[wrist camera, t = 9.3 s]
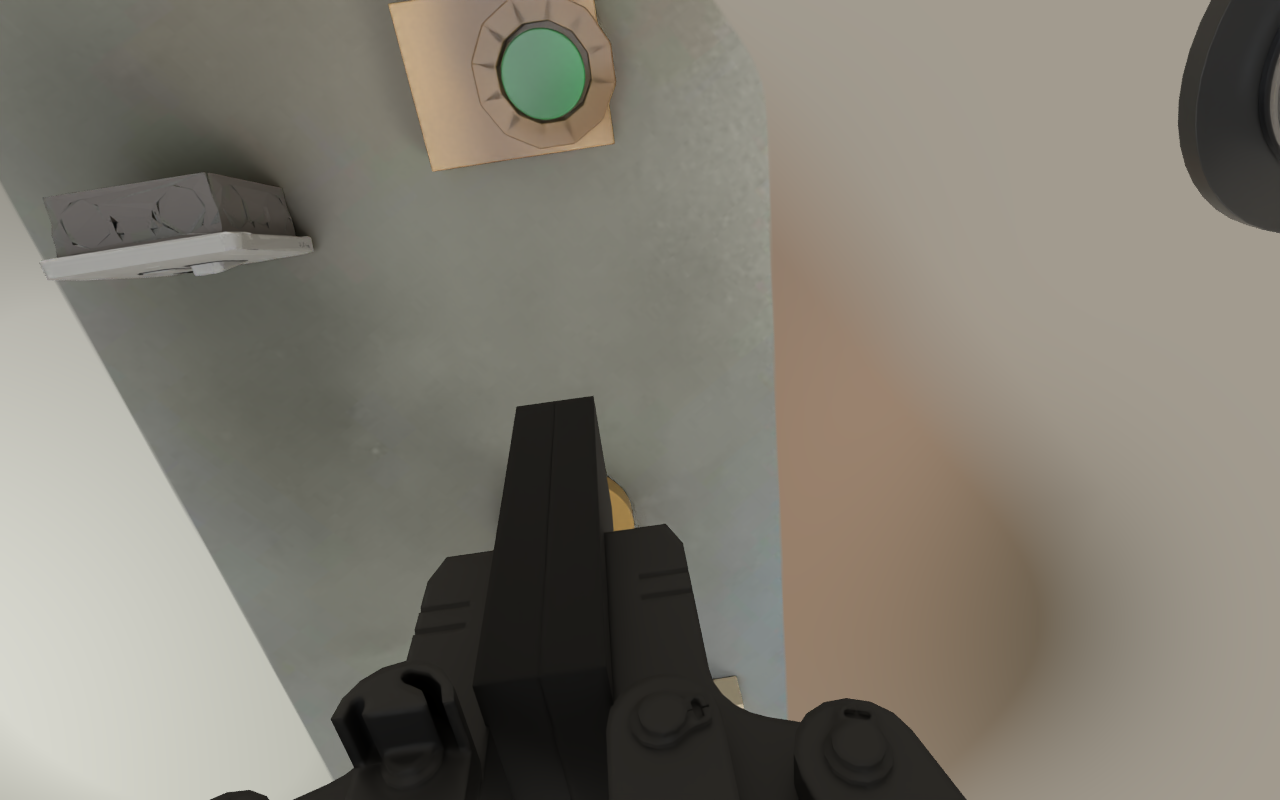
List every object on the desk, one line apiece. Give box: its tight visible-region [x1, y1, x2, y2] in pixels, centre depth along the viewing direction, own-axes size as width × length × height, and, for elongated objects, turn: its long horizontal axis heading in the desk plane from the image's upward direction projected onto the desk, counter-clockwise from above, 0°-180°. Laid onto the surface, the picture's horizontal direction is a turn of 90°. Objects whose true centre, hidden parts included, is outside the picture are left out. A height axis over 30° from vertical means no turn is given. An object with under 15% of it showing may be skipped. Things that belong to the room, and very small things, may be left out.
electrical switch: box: [40, 172, 314, 280], centre depth 36 cm, size 9×5×9 cm, turn 98°
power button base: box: [388, 0, 616, 171], centre depth 36 cm, size 10×8×4 cm
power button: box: [501, 28, 585, 120], centre depth 34 cm, size 4×4×2 cm
